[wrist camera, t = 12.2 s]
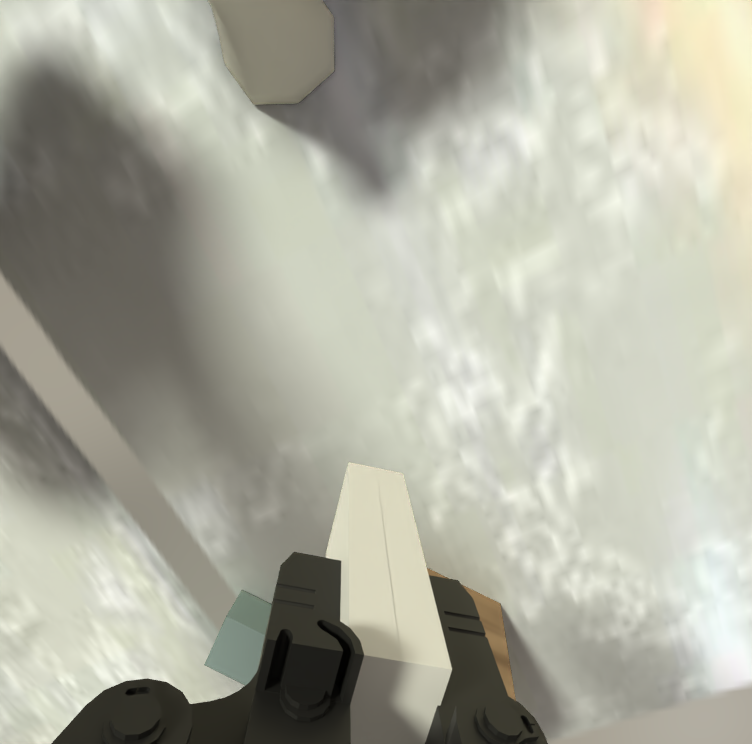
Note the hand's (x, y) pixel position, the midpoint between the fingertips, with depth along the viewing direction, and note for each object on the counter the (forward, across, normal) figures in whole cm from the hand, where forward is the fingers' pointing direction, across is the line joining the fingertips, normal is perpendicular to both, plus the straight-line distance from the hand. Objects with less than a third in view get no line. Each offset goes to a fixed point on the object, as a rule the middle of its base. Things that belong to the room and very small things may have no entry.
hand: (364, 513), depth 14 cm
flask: (+23, -9, +18) cm, 30 cm away
